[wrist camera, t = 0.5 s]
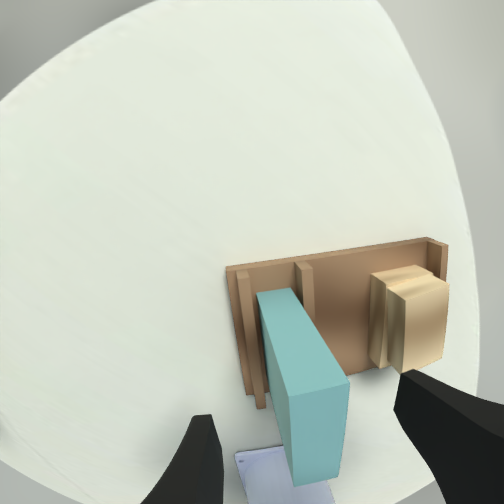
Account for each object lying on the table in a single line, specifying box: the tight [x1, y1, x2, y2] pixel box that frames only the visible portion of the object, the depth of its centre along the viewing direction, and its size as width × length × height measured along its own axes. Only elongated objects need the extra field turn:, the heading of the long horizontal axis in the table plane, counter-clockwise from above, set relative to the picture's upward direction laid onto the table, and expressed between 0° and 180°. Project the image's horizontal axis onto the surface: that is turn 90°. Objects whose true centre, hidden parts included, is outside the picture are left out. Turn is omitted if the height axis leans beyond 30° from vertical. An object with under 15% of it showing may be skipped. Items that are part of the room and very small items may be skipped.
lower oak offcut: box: [367, 265, 433, 369], centre depth 17 cm, size 6×4×2 cm, turn 7°
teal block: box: [256, 288, 350, 487], centre depth 13 cm, size 6×2×9 cm, turn 7°
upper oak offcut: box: [387, 274, 449, 375], centre depth 15 cm, size 5×3×2 cm, turn 12°
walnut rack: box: [226, 237, 448, 409], centre depth 18 cm, size 9×14×3 cm, turn 97°
